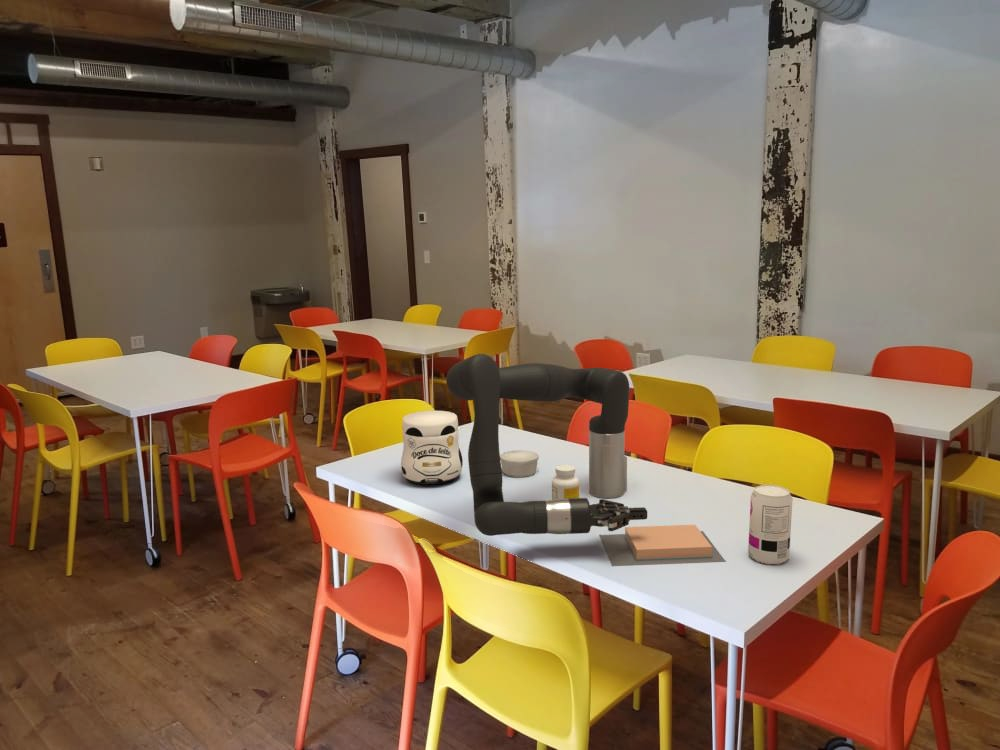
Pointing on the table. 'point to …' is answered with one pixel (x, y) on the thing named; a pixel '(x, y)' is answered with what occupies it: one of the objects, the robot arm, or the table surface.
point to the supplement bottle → (565, 483)
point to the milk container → (431, 447)
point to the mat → (623, 556)
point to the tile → (667, 542)
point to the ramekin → (519, 463)
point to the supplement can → (770, 524)
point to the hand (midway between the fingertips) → (646, 513)
